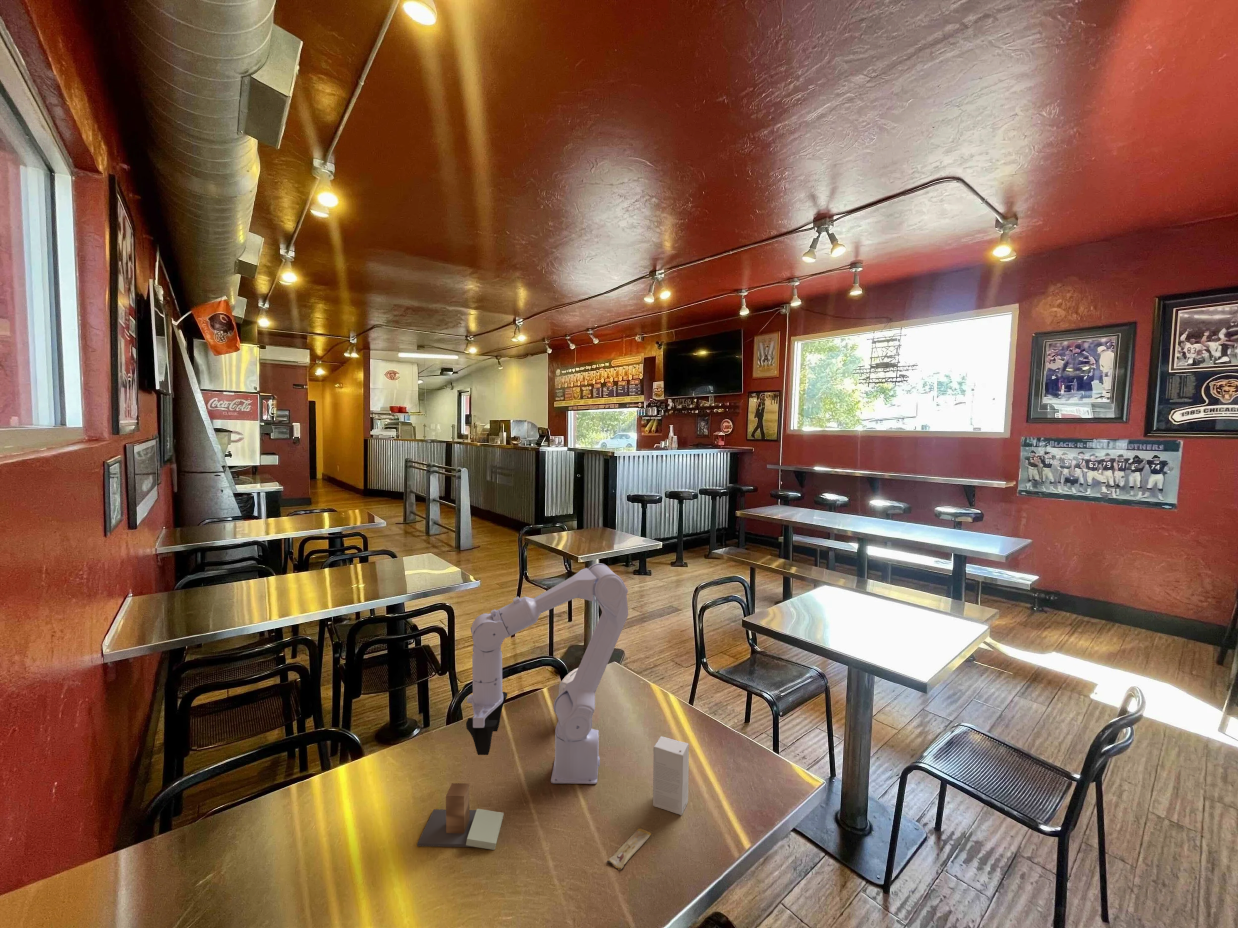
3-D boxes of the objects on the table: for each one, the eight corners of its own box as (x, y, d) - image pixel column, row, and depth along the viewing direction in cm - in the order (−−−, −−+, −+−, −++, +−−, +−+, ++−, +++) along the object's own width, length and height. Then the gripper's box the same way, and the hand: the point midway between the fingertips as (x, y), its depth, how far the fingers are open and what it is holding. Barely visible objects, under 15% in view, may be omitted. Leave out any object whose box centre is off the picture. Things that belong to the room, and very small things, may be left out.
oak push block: (469, 819, 95) (469, 783, 94) (464, 833, 92) (464, 795, 91) (452, 819, 95) (451, 783, 94) (446, 832, 92) (445, 795, 91)
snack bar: (637, 826, 94) (651, 828, 92) (639, 835, 94) (653, 837, 92) (605, 860, 86) (619, 863, 85) (607, 869, 86) (621, 872, 84)
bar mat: (486, 812, 97) (486, 809, 97) (474, 846, 89) (474, 844, 89) (433, 811, 97) (433, 809, 97) (417, 845, 89) (417, 843, 89)
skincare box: (688, 801, 101) (690, 743, 100) (681, 816, 97) (683, 755, 96) (659, 792, 103) (660, 734, 103) (651, 806, 100) (652, 746, 99)
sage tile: (503, 812, 96) (477, 808, 95) (495, 843, 89) (467, 838, 88) (502, 819, 96) (475, 815, 96) (494, 850, 89) (465, 845, 89)
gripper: (476, 659, 109) (477, 720, 110) (456, 694, 95) (457, 765, 96) (510, 659, 109) (510, 720, 110) (494, 694, 95) (495, 765, 96)
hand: (488, 741), depth 103 cm, fingers open, 7 cm apart
